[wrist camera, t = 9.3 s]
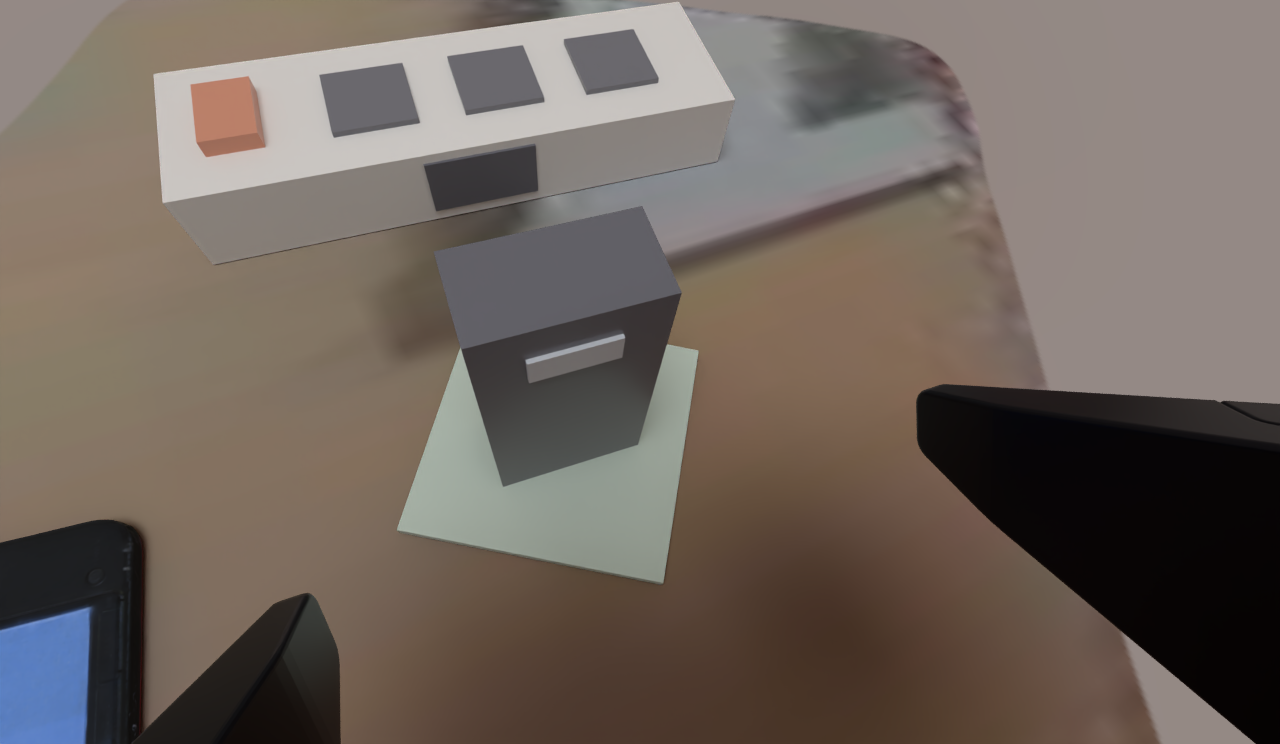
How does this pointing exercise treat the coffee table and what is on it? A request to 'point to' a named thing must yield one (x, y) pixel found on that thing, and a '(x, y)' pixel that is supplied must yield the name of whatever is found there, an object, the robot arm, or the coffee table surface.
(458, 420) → the felt coaster
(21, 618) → the handheld game console
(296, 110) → the power strip
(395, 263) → the coffee table surface
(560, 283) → the brick
